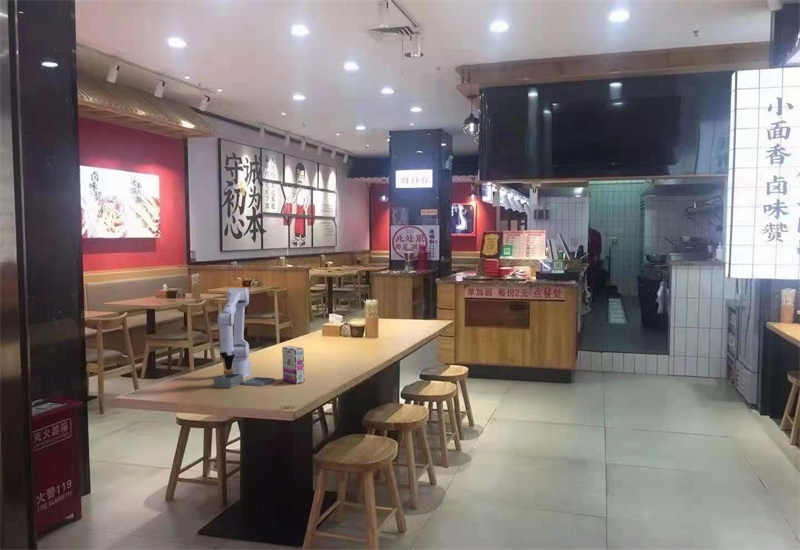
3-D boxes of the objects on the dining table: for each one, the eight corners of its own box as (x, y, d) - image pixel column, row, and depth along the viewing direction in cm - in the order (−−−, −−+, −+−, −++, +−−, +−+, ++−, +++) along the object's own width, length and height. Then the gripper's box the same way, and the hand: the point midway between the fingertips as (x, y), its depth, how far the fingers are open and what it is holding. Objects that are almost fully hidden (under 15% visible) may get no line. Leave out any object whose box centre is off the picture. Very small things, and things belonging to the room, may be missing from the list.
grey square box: (226, 383, 289) (226, 373, 288) (243, 384, 285) (242, 374, 285) (214, 388, 280) (213, 377, 280) (231, 389, 277) (230, 378, 277)
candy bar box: (305, 382, 287) (304, 347, 286) (296, 384, 283) (295, 349, 282) (291, 379, 294) (290, 345, 294) (282, 381, 291) (281, 346, 290)
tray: (254, 380, 294) (254, 376, 293) (274, 381, 290) (274, 378, 290) (241, 385, 283) (241, 382, 283) (261, 387, 279) (261, 383, 279)
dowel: (227, 372, 285) (226, 357, 285) (234, 372, 284) (233, 357, 283) (221, 374, 281) (221, 359, 281) (229, 374, 280) (228, 359, 279)
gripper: (215, 337, 287) (216, 366, 287) (219, 342, 273) (221, 372, 274) (231, 336, 289) (232, 364, 290) (236, 340, 276) (237, 370, 277)
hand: (228, 368), depth 282 cm, fingers closed on dowel, 4 cm apart
